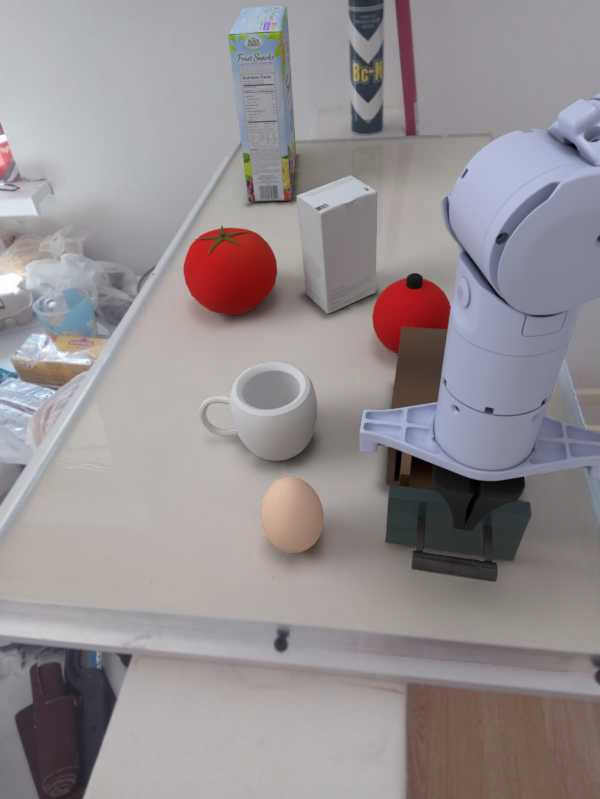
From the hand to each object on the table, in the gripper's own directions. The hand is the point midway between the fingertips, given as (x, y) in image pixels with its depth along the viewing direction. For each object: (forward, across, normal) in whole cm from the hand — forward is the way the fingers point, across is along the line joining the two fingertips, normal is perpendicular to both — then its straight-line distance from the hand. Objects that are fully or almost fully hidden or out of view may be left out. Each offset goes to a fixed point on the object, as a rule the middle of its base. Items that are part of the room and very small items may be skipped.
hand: (462, 517), depth 39 cm
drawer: (+8, 0, -6) cm, 10 cm away
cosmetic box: (+9, +15, -39) cm, 43 cm away
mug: (+9, +19, -12) cm, 24 cm away
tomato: (+9, +29, -36) cm, 47 cm away
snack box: (+9, +34, -77) cm, 85 cm away
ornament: (+9, +5, -29) cm, 31 cm away
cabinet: (+9, 0, -15) cm, 18 cm away
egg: (+9, +13, -1) cm, 16 cm away
